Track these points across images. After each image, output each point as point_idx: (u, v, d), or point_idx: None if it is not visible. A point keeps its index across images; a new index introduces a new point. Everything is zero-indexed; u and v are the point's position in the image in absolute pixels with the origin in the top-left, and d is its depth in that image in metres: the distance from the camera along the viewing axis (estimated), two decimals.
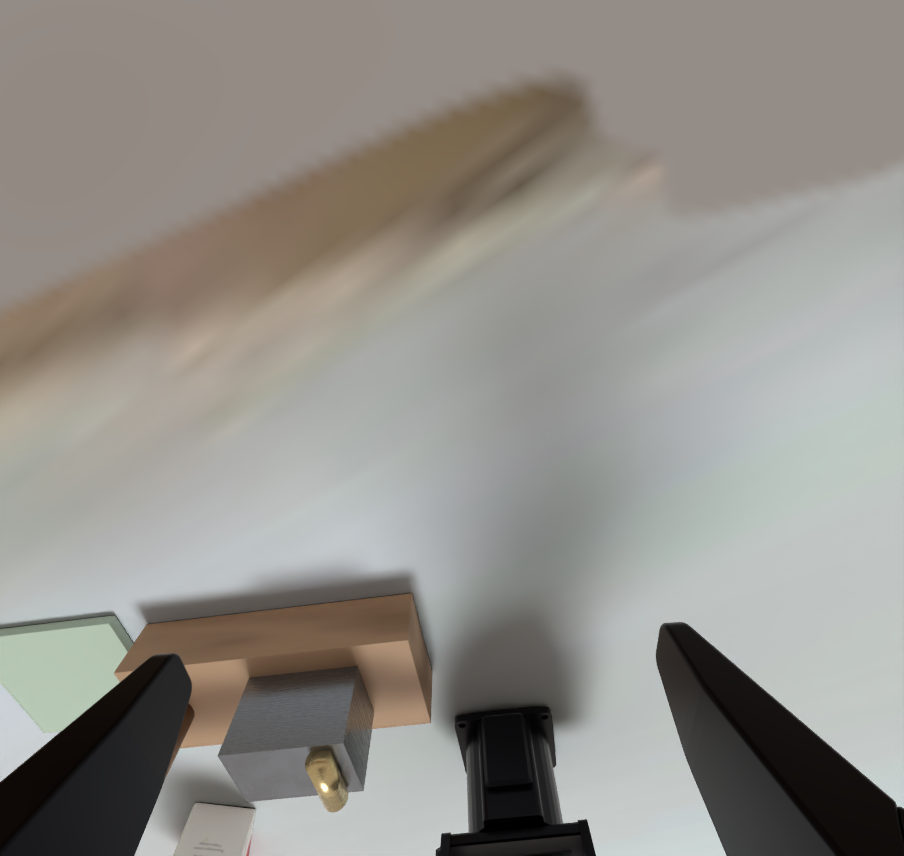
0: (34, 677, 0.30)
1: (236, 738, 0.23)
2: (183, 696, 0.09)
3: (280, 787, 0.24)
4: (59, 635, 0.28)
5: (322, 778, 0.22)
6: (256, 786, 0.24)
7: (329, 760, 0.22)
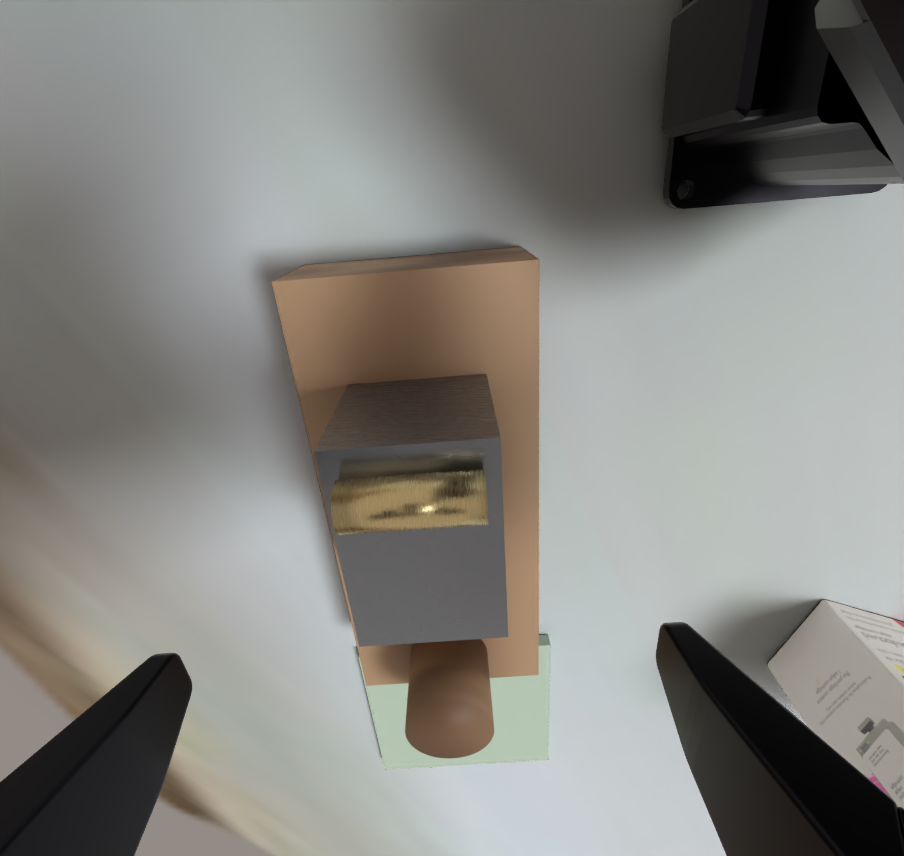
0: None
1: None
2: (183, 696, 0.09)
3: (466, 581, 0.12)
4: (378, 701, 0.24)
5: (353, 512, 0.10)
6: (460, 614, 0.13)
7: (333, 487, 0.10)
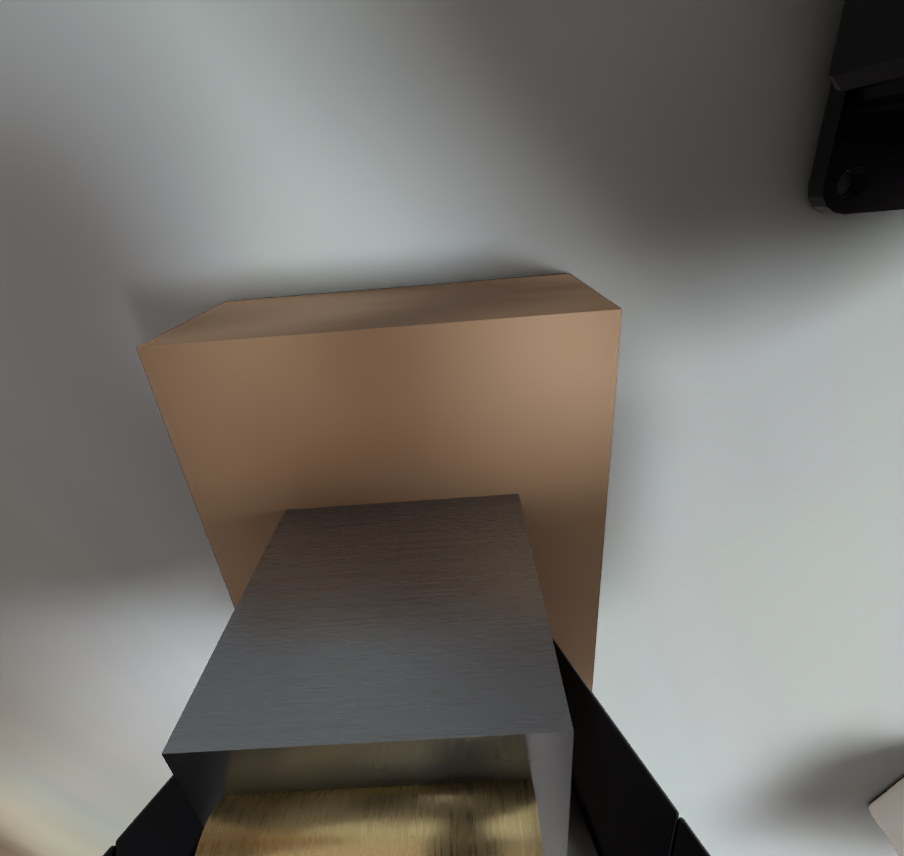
0: None
1: None
2: None
3: None
4: None
5: None
6: None
7: (200, 844, 0.05)
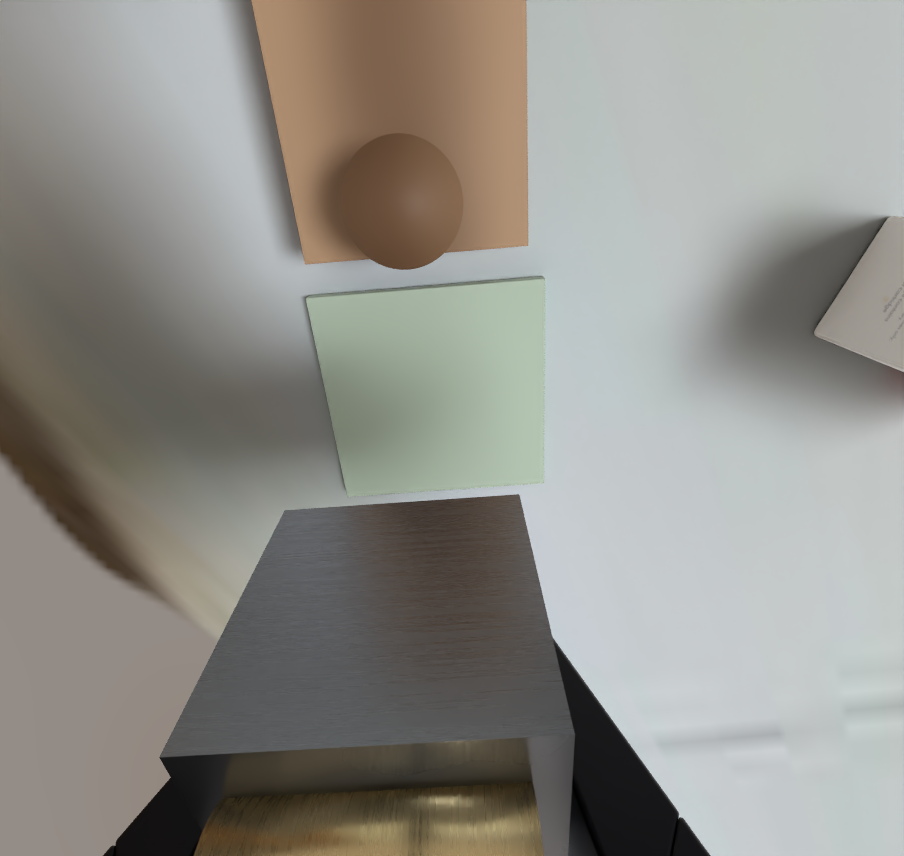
0: (421, 446, 0.21)
1: None
2: None
3: None
4: (334, 378, 0.20)
5: None
6: None
7: (199, 848, 0.05)
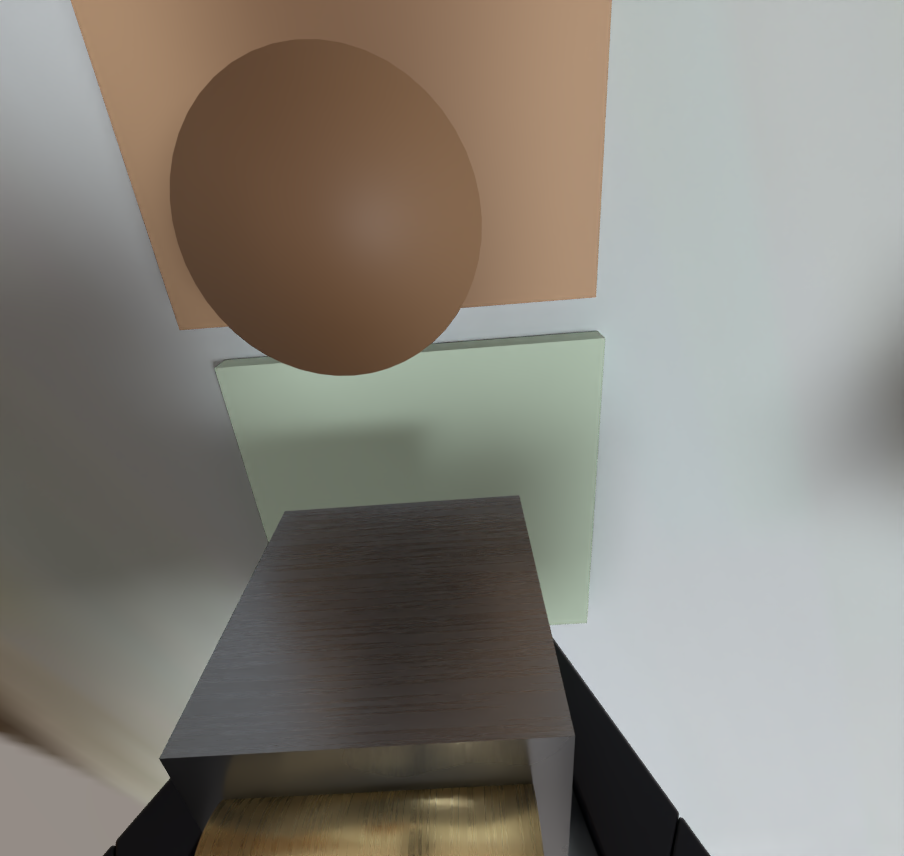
0: None
1: None
2: None
3: None
4: (268, 485, 0.13)
5: None
6: None
7: (199, 849, 0.05)
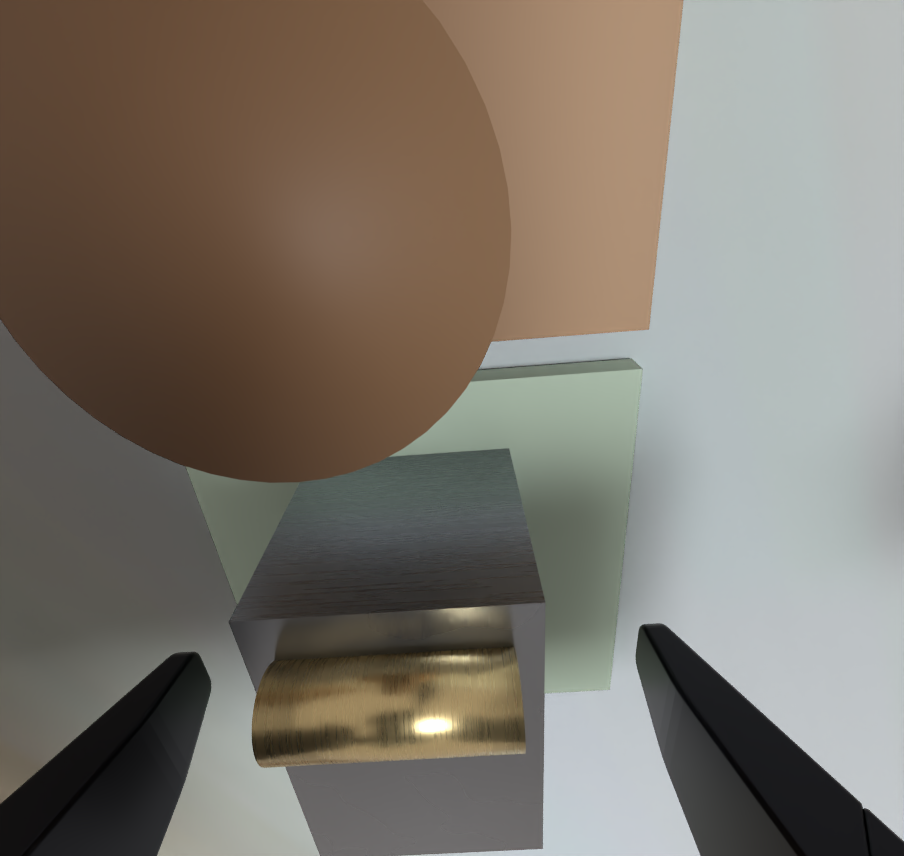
0: None
1: None
2: (203, 695, 0.09)
3: (482, 786, 0.08)
4: (234, 539, 0.11)
5: (291, 743, 0.06)
6: (472, 824, 0.08)
7: (260, 688, 0.06)
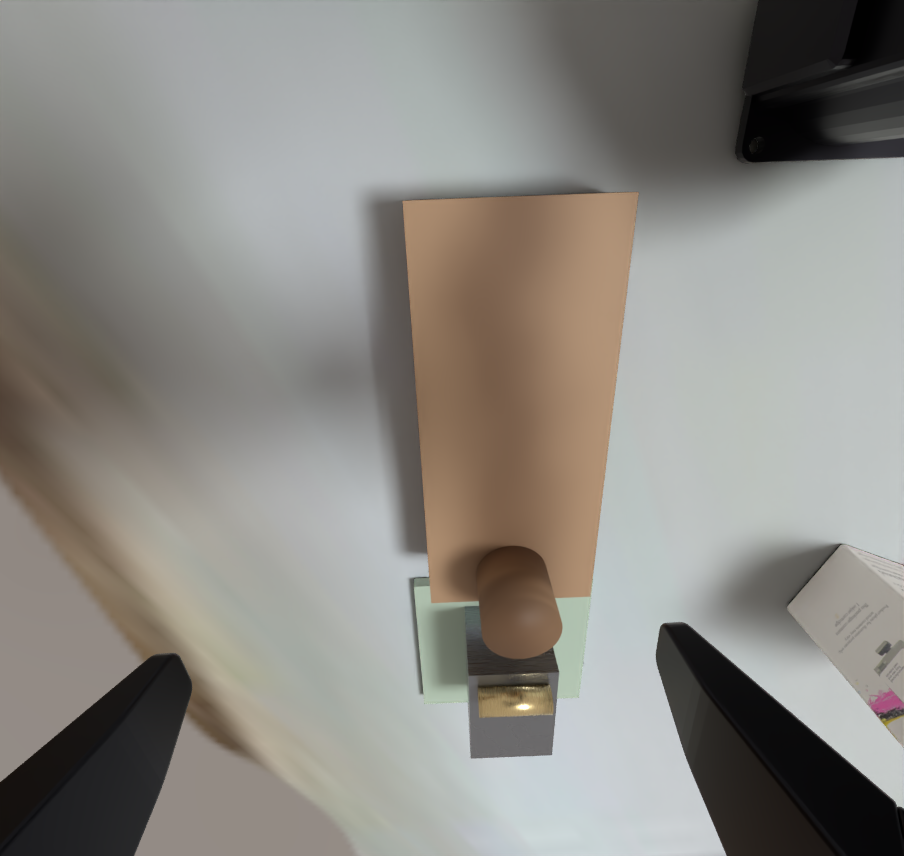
0: None
1: None
2: (183, 696, 0.09)
3: (533, 729, 0.23)
4: (426, 633, 0.26)
5: (490, 710, 0.21)
6: (527, 744, 0.23)
7: (478, 695, 0.21)
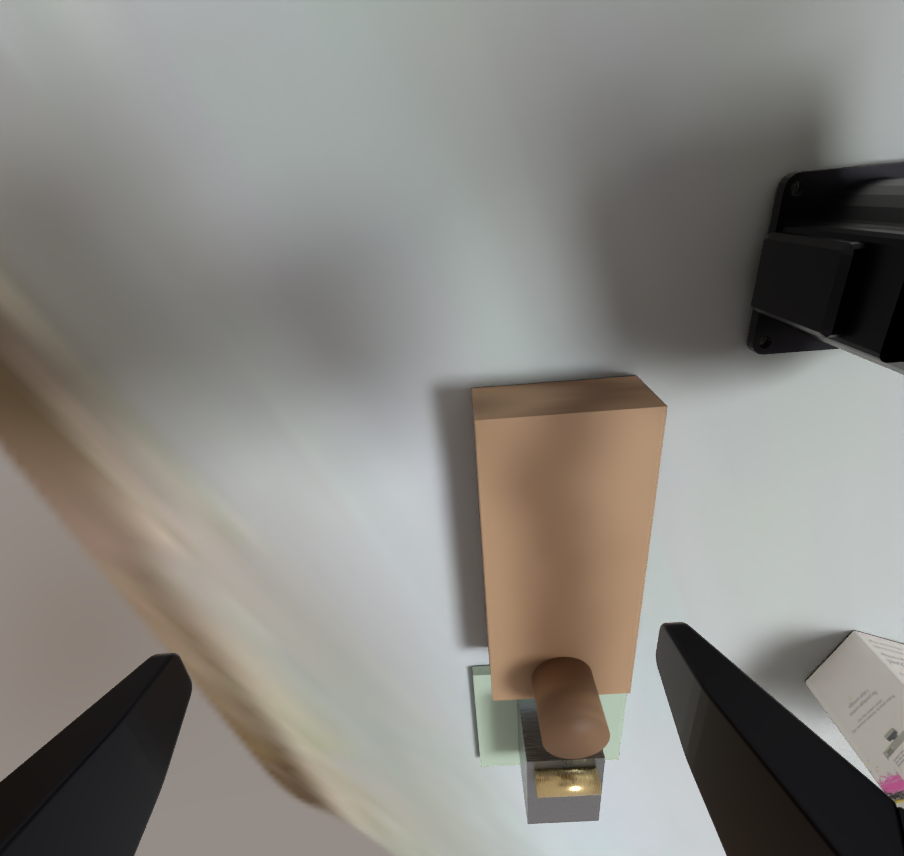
0: None
1: (525, 803, 0.28)
2: (183, 696, 0.09)
3: (582, 801, 0.27)
4: (483, 711, 0.29)
5: (546, 792, 0.24)
6: (577, 812, 0.27)
7: (536, 778, 0.25)
